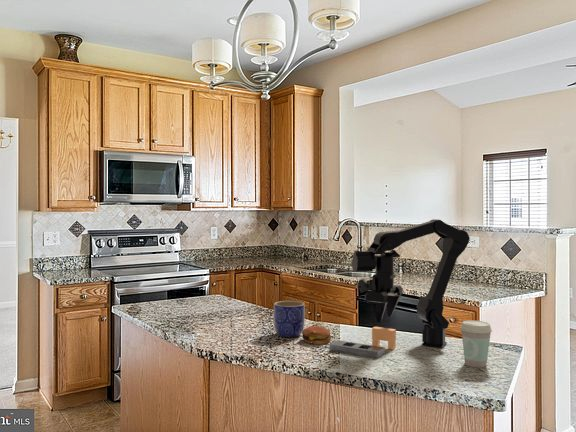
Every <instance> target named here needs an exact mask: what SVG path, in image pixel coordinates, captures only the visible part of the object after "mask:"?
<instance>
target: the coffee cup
mask: <svg viewBox="0 0 576 432" xmlns="http://www.w3.org/2000/svg"><path fill="white" fill-rule="evenodd" d="M459 329H460V330H461V339H462V349H463V358H464V364H465V365H466V366H468V367H471V368H485V367H486V366H487V362H488V357H489V354H488V353H489V350H490V349H489V347H490V341H491V335H492V334H491V333H492V332H493V330H492V327H491V324H490V322H487V321H482V320H475V319H474V320H471V319H469V320H467V319H466V320H464V321H462V322H461V325H460V328H459Z"/></svg>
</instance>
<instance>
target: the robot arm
mask: <svg viewBox="0 0 576 432" xmlns="http://www.w3.org/2000/svg"><path fill="white" fill-rule="evenodd" d="M431 234H436V235H437V237H439V238H441V239H442V255H441V258H440V260H439V263H438V267H437V269H436V271H435V274H434V277H433V280H432V282H431V284H430V288H429V291H428V293H427V294H426V295H425V296H423V295H420V297H419V299H418V303H417V305H416V306H415V307H416V308H417V309H416V314H417V316H418V318H420V320H421V323H422V324H424V325H423V328H422V330H421V331H422V332H421V334H422V335H421V336H422V337H421V338H422V339H421V342H422V344H421V345H423V346H425V347H427V346H428V347H433V348H435V347H436V348H444V346H445V345H447V344H448V343H447V341H446V329H448V328H449V324H450V321H448V320H447V319H446V318H445V316H444V315H443V312H444V295H445V293H446V290H447V288H448V285H449V282H450V279H451V276H452V274H453V270H454V268H455V265H456V263H457V260H458V258H459V257H460V256H461V255H462V253H464V252H465V250H466V248H467V246H468V245H469V243H470V240H471V238H470V237H471V236H470V235H469V233H468V231H466V230H464V229H458V228H456V227H454V226H452V225H450V224H448V223H446V222H444V221H443V220H441V219H435V218H434V219H433V218H432V219H431V220H429V221H425V222H422V223H418V224H416V225H412V226H408V227H407V228H406V227H405V228H403V229H402V228H401V229H398V230H387V231H380V232H377V233H376V234H375V235H374V237H373V241H372V243H371V244H370V246H369V247H368V249H367V250H354V251H353V256H352V259H351V268H352V272H354V273H367V272H368V273H371V272H373V270H375V274H372V279H369V280H366V279H365V278H363V279H359V280H357V281H358V282H357V287H356V288H357V289H359V291H360V293H364V292H366V293H365V294H364V301H366V302H367V303H368V304H370V305H371V306H372V308H373V312H374V315H375V318H376V322H377V323H382V320H383V318H384V314H385V311H386V314H387V317H388V318H391V317H393V314H394V313H395V310H396V307H397V305H398V303H399V302H400V300H401V297H402V295H403V294H404V291H403V290H404V289H403V287H402V286H401V285H397V284H395V283H394V279H395V278H396V277H397V275H396V274H395V273H394V271H395V270H394V267H395V265H394V264H395V263H394V262H395V259H394V258H400V257H401V255H400V254H399V253H398V252H397V250H395V249H397V248H398V247H400V246H401V245H403V244H404V243H406V242H409V241H412V240H415V239H418V238H421V237H425V236H428V235H431Z"/></svg>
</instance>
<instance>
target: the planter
mask: <svg viewBox="0 0 576 432" xmlns="http://www.w3.org/2000/svg"><path fill="white" fill-rule="evenodd" d="M305 305H306V304H305V303H304V302H302V301H299V300H280V301H276V302H274V303H273V326H274V331H275V332H276V333H277V335H278V336H280V337H282V338H295V337H298V336H301V334H302V331H303V330H304V329H305V321H306V320H305V319H306V310H305V309H306V307H305Z"/></svg>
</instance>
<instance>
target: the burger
mask: <svg viewBox="0 0 576 432" xmlns="http://www.w3.org/2000/svg"><path fill="white" fill-rule="evenodd" d="M301 334H302V339H304V342H305V343H307V344H313V345H316V346H317V345H327V344H328V343H329V342H330V341H331V339H332V335H331V331H330V330H329V328H326V327H323V326H318V325H317V326H315V325H313V326H312V325H311V326H308V327H306V328H305V327H304V329H303V331H302V333H301Z"/></svg>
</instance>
